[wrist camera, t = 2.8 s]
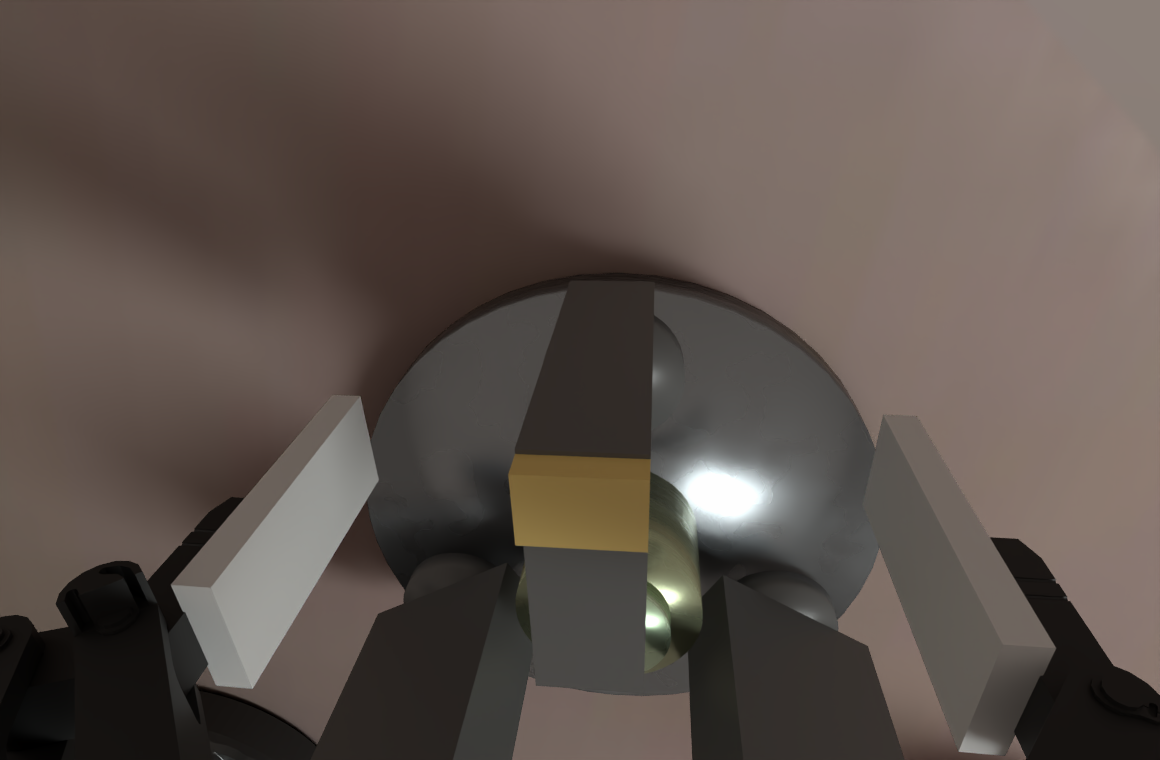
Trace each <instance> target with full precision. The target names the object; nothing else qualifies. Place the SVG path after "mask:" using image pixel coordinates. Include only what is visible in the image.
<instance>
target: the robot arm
mask: <svg viewBox="0 0 1160 760" xmlns="http://www.w3.org/2000/svg"><path fill="white" fill-rule="evenodd" d="M378 480H379V479H378V474H377V470H376V465H375V460H374V456H373V451H372V447H371V442H370V438H369V433H368V428H367V424H366V419H365V415H364V410H363V406H362V401H361V396H347V395H332V396H331V397H330V399H329V400H328V401H327V402H326V403H325V404H324V406H323V407H322V408H321V409H320V410H319V411H318V413H317V414H316V415H315V416H314V417H313V419H312V420H311V421H310V422H309V423H308V424H307V426H306V427H305V428H304V429H303V430H302V431H301V433H300V434H299V435H298V436H297V437H296V438H295V440H294V441H293V442H292V443H291V444H290V445H289V447H288V448H287V449H286V450H285V451H284V453H283V454H282V455H281V456H280V457H279V458H278V460H277V461H276V462H275V463H274V464H273V465H272V467H271V468H270V469H269V470H268V471H267V472H266V474H265V475H264V476H263V477H262V478H261V479H260V481H259V482H258V483H257V484H256V485H255V487H254V488H253V489H252V490H251V491H250V492H249V494H248V495H247V496H246V497H245V498H236V497H231V498H230V499H228V500H227V501H225V502H224V503H222V504H221V505H219V506H217V507H216V508H214V509H213V510H211V511H210V512H209V513H208V514H207V515H206V516H205V517H204V519H203V520H202V521H201V522H200V523H199V524H198V525H197V526H196V527H195V530H194V532H191V533H190V534H189V535H188V536H187V537H186V539H185V540H184V541H183V542H182V546H178V547H177V549H176V550H175V551H174V552H173V553H172V554H171V555H170V556H169V557H168V559H167V560H166V561H165V562H164V563H163V564H162V565H161V566H160V567H159V569H158V570H157V571H156V572H155V573H154V574H153V575H152V576H151V577H150V579H149V580H148V581H147V580H146V578H145V576H144V574H143V572H142V570H141V568H140V567H139V565H138V564H136V563H133V562H130V561H114V562H110V563H106V564H102V565H99V566H96V567H94V568H92V569H90V570H88V571H86V572H84V573H82V574H81V575H79V576H78V577H76V578H75V579H73V580H72V581H71V582H69V583H68V584H67V585H66V587H65V588H64V589H63V590H62V591H61V592H60V593H59V596H58V599H57V602H56V606H57V607H58V609H59V611H60V613H61V614H62V616H63V618H64V619H65V621H66V623H67V625H68V626H69V627H65V628H60V629H55V630H49V631H44V632H37V630H36V629H35V627H34V625H33V624H32V622H31V621H30V620H29V619H28V618H27V617H23V616H19V615H13V616H5V617H0V760H311V757H312V755H313V753H314V751H315V749H316V746H315V745H314V744H313V743H312V742H311V741H309V740H308V739H307V738H306V737H304V736H303V735H302V734H300V733H299V732H298V731H296V730H295V729H293V728H292V727H290V726H289V725H287V724H285V723H284V722H282V721H280V720H278V719H277V718H275V717H273V716H271V715H269V714H267V713H265V712H263V711H261V710H258V709H256V708H254V707H252V706H249V705H246V704H244V703H241V702H238V701H236V700H233V699H230V698H226V697H223V696H219V695H215V694H211V693H207V692H202V691H199V690H198V688H197V686H196V681H197V680H198V679H199V677H200V676H201V674H202V673H203V671H204V670H205V668H206V667H207V666H208V668H209V671H210V673H211V675H212V677H213V679H214V682H215V684H216V686H227V687H239V688H250V689H253V687H254V685H255V684H256V682H257V681H258V679H259V677H260V676H261V674H262V672H263V671H264V669H265V667H266V666H267V664H268V662H269V661H270V659H271V657H272V656H273V654H274V652H275V651H276V649H277V647H278V646H279V644H280V643H281V641H282V639H283V638H284V636H285V634H286V633H287V631H288V629H289V628H290V626H291V624H292V623H293V621H294V619H295V618H296V616H297V614H298V613H299V611H300V609H301V608H302V606H303V604H304V603H305V601H306V600H307V598H308V596H309V595H310V593H311V591H312V590H313V588H314V586H315V585H316V583H317V581H318V580H319V578H320V576H321V575H322V573H323V571H324V570H325V568H326V566H327V565H328V563H329V561H330V560H331V558H332V557H333V555H334V553H335V552H336V550H337V548H338V547H339V545H340V543H341V542H342V540H343V538H344V537H345V535H346V533H347V532H348V530H349V528H350V527H351V525H352V523H353V522H354V520H355V518H356V517H357V515H358V514H359V512H360V510H361V509H362V507H363V505H364V504H365V502H366V500H367V499H368V497H369V495H370V494H371V492H372V490H373V489H374V487H375V485H376V484H377V482H378ZM863 506H864V509H865V511H866V514H867V517H868V519H869V522H870V524H871V527H872V530H873V532H874V535H875V537H876V540H877V542H878V545H879V548H880V550H881V553H882V555H883V558H884V561H885V563H886V566H887V568H888V571H889V573H890V576H891V579H892V581H893V584H894V586H895V589H896V592H897V594H898V597H899V599H900V602H901V605H902V607H903V610H904V612H905V615H906V617H907V620H908V623H909V625H910V628H911V630H912V633H913V636H914V638H915V641H916V643H917V646H918V648H919V651H920V654H921V656H922V659H923V661H924V664H925V667H926V669H927V672H928V674H929V677H930V680H931V682H932V685H933V687H934V690H935V692H936V695H937V698H938V700H939V703H940V705H941V708H942V711H943V713H944V716H945V718H946V721H947V723H948V726H949V729H950V731H951V734H952V736H953V739H954V742H955V744H956V747H957V749H958V752H967V753H978V754H989V755H1000V756H1005V755H1006V753H1007V751H1008V749H1009V747H1010V745H1011V743H1012V740H1013V738H1014V736H1015V735H1016V737H1017V739H1018V741H1019V743H1020V745H1021V747H1022V750H1023V752H1024V754H1025V756H1026V760H1160V695H1159V694H1158V693H1157V692H1156V691H1155V690H1154V689H1153V688H1152V687H1151V686H1150V685H1149V684H1147V683H1146V682H1144V681H1143V680H1141V679H1139V678H1138V677H1136V676H1135V675H1133V674H1132V673H1130V672H1128V671H1125V670H1123V669H1120V668H1118V667H1115V666H1113V664H1112V663H1111V661H1110V660H1109V658H1108V657H1107V655H1106V654H1105V652H1104V651H1103V649H1102V648H1101V646H1100V645H1099V643H1098V642H1097V640H1096V639H1095V637H1094V636H1093V634H1092V633H1091V631H1090V630H1089V628H1088V627H1087V625H1086V624H1085V623H1084V621H1083V620H1082V618H1081V617H1080V615H1079V614H1078V612H1077V611H1076V609H1075V608H1074V606H1073V605H1072V603H1071V602H1070V601H1068V600H1067V596H1066V594H1065V593H1064V591H1063V590H1062V588H1061V587H1060V585H1059V584H1056V581H1055V580H1056V579H1055V578H1054V576H1053V575H1052V573H1051V572H1050V570H1049V569H1048V567H1047V566H1046V564H1045V563H1044V561H1043V560H1042V558H1041V557H1039V556H1038V555H1037V554H1036V553H1034V552H1033V551H1032V550H1031V549H1030V548H1028V547H1027V546H1026V545H1025V544H1023V543H1022V542H1021V541H1020V540H1019V539H1010V538H992V537H989V535H988V534H987V532H986V530H985V529H984V527H983V525H982V524H981V522H980V520H979V519H978V517H977V515H976V514H975V512H974V510H973V509H972V507H971V505H970V504H969V502H968V500H967V499H966V497H965V495H964V494H963V492H962V490H961V489H960V487H959V485H958V484H957V482H956V480H955V479H954V477H953V475H952V474H951V472H950V470H949V469H948V467H947V465H946V464H945V462H944V460H943V459H942V457H941V455H940V454H939V452H938V450H937V449H936V447H935V445H934V444H933V442H932V440H931V439H930V437H929V435H928V434H927V432H926V430H925V429H924V427H923V425H922V424H921V422H920V420H919V419H918V417H917V416H904V415H883V418H882V423H881V427H880V432H879V436H878V440H877V445H876V449H875V453H874V458H873V462H872V467H871V471H870V475H869V480H868V484H867V488H866V493H865V497H864V502H863Z"/></svg>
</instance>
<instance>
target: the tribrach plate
mask: <svg viewBox="0 0 1160 760" xmlns="http://www.w3.org/2000/svg"><path fill="white" fill-rule="evenodd" d="M570 281H645V282H655V287H654V315H655V316H656V317H658V318H659V319H660V320H662V321H663V322H664V323H665V324H666V325H667V326H668V327H669V328H670V329H671V331H672V332H673V333H674V335H675V336H676V338H677V340H678V342H679V344H680V347H681V350H682V353H683V358H684V370H685V385H684V391H683V394H682V398H681V400H680V402H679V404H678V406H677V408H676V409H675V411H674V412H673V413H672V415H671V416H670V417H669V418H668V419H667V420H666V421H665V422H664V423H662V424H661V425H660V426H658V427H657V428H655V429H653V430H652V431H651V464H650V502H649V536H648V566H647V600H646V635H645V669H644V694H642V693H629V692H616V691H603V690H589V689H578V690H583V691H587V692H596V693H604V694H613V695H635V696H649V695H669V694H678V693H685V692H690V690H689V666H688V651H689V649H690V648H691V647H692V646H693V645H694V643H695V641H696V640H697V638H698V636H699V633H700V631H701V627H702V621H703V611H702V596H703V595H704V594H705V593H706V592H707V591H708V590H709V589H710V588H711V587H712V586H713V585H714V584H715V583H716V582H717V580H718V579H719V578H720V577H721V576H722V575H725V576H727V577H729V578H731V579H733V580H735V581H737V580H739V579H741V578H743V577H745V576H748V575H750V574H754V573H758V572H763V571H788V572H793V573H797V574H800V575H804V576H806V577H808V578H810V579H812V580H814V581H815V582H817V583H818V584H819V585H821V586H822V587H823V588H824V589H825V590H826V592H827V593H828V594H829V596H830V598H831V600H832V603H833V607H834V610H835V614H836V617H837V620H838V619H839V618H840V617H841V616H842V615H843V613H844V612H845V611H846V609H847V608H848V607H849V605H850V604H851V603H852V601H853V600H854V599H855V598H856V596H857V595H858V594H859V592H860V590H861V588H862V587H863V585H864V583H865V581H866V579H867V577H868V575H869V574H870V572H871V570H872V568H873V565H874V562H875V559H876V556H877V553H878V550H879V545H878V542H877V540H876V537H875V535H874V532H873V530H872V527H871V524H870V522H869V519H868V517H867V514H866V511H865V509H864V506H863V502H864V497H865V493H866V488H867V484H868V480H869V475H870V471H871V467H872V462H873V458H874V453H875V448H874V445H873V442H872V440H871V437H870V435H869V432H868V430H867V428H866V426H865V424H864V422H863V420H862V417H861V415H860V413H859V411H858V409H857V407H856V405H855V404H854V402H853V400H852V399H851V397H850V395H849V394H848V392H847V390H846V389H845V387H844V385H843V384H842V382H841V380H840V379H839V378H838V376H837V375H836V374H835V373H834V372H833V370H832V369H831V368H830V367H829V366H828V364H827V363H826V362H825V361H824V360H823V358H822V357H821V356H820V355H819V354H818V353H817V352H816V351H815V350H814V349H812V348H811V347H810V346H809V345H808V344H807V343H806V342H805V341H803V340H802V339H801V338H800V337H799V336H798V335H797V334H796V333H795V332H793V331H792V330H790V329H789V328H787V327H786V326H784V325H783V324H781V323H780V322H778V321H777V320H775V319H774V318H772V317H771V316H769V315H768V314H766V313H765V312H763V311H761V310H759V309H757V308H755V307H753V306H751V305H749V304H747V303H745V302H743V301H740V300H738V299H736V298H734V297H732V296H730V295H727V294H724V293H721V292H718V291H715V290H712V289H709V288H706V287H703V286H700V285H697V284H694V283H690V282H685V281H680V280H675V279H670V278H665V277H660V276H653V275H639V274H625V273H606V274H587V275H576V276H570V277H565V278H559V279H554V280H548V281H543V282H540V283H536V284H533V285H530V286H527V287H524V288H521V289H518V290H514V291H511V292H508V293H506V294H504V295H502V296H500V297H498V298H496V299H494V300H491V301H489V302H487V303H485V304H483V305H481V306H479V307H477V308H475V309H474V310H472V311H471V312H469V313H468V314H466V315H465V316H463V317H462V318H460V319H459V320H457V321H456V322H454V323H453V324H451V325H450V326H449V327H448V328H447V329H445V330H444V331H443V332H442V333H441V334H440V335H439V336H438V337H437V338H436V339H434V340H433V341H432V342H431V343H430V344H429V345H428V346H427V347H426V348H425V349H424V351H423V352H422V353H421V354H420V356H419V357H418V358H417V359H416V360H415V362H414V363H413V364H412V365H411V367H410V368H409V369H408V371H407V372H406V374H405V375H404V376H403V378H402V379H401V381H400V382H399V384H398V385H397V386H396V388H395V389H394V391H393V393H392V395H391V396H390V398H389V400H388V402H387V403H386V405H385V407H384V409H383V410H382V412H381V414H380V417H379V419H378V422H377V425H376V428H375V430H374V433H373V436H372V439H371V447H372V451H373V456H374V460H375V465H376V470H377V474H378V479H379V480H378V482H377V484H376V485H375V487H374V489H373V490H372V492H371V494H370V495H369V497H368V499H367V502H368V509H369V516H370V520H371V523H372V526H373V529H374V533H375V536H376V539H377V542H378V544H379V546H380V548H381V550H382V553H383V555H384V557H385V559H386V561H387V563H388V565H389V567H390V568H391V570H392V571H393V573H394V574H395V576H396V577H397V579H398V581H399V582H400V584H401V585H402V587H403V588H404V589H405V590H406V587H407V585H408V583H409V580H410V578H411V576H412V574H413V572H414V570H415V569H416V567H417V566H418V565H419V564H420V563H421V562H423V561H424V560H426V559H428V558H430V557H432V556H435V555H438V554H443V553H464V554H469V555H473V556H477V557H480V558H482V559H484V560H487V561H489V562H490V563H492V564H494V565H495V566H500V565H502V564H505V563H508V564H509V565H510V566H511V567H512V569H513V570H514V571H515V572H516V573H517V575H518V576H519V577H520V581H519V585H518V589H517V594H516V600H515V604H516V614H517V618H518V621H519V623H520V626H521V628H522V629H523V631H524V633H525V634H526V636H527V637H528V638H529V640H530V641H531V642H532V637H531V626H530V615H529V603H528V592H527V581H526V570H525V559H524V548H523V546H516V545H515V538H514V528H513V517H512V507H511V497H510V487H509V477H508V474H509V471H510V468H511V465H512V462H513V458H514V455H515V446H516V443H517V440H518V437H519V434H520V431H521V428H522V425H523V422H524V419H525V416H526V413H527V410H528V407H529V404H530V401H531V398H532V395H533V392H534V389H535V386H536V383H537V380H538V377H539V374H540V371H541V368H542V365H543V361H544V357H545V354H546V351H547V348H548V345H549V342H550V340H551V337H552V334H553V331H554V328H555V325H556V322H557V319H558V316H559V313H560V310H561V307H562V304H563V301H564V298H565V295H566V292H567V289H568V286H569V283H570ZM528 676H529V677H532V678H535V670H534V659H533V655H532V660H531V665H530V670H529V675H528ZM573 689H576V688H573Z"/></svg>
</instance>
